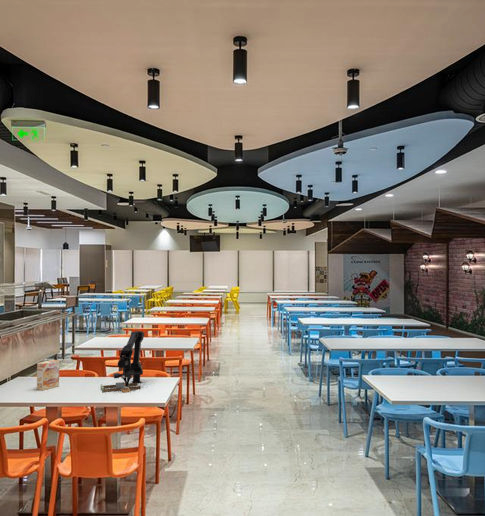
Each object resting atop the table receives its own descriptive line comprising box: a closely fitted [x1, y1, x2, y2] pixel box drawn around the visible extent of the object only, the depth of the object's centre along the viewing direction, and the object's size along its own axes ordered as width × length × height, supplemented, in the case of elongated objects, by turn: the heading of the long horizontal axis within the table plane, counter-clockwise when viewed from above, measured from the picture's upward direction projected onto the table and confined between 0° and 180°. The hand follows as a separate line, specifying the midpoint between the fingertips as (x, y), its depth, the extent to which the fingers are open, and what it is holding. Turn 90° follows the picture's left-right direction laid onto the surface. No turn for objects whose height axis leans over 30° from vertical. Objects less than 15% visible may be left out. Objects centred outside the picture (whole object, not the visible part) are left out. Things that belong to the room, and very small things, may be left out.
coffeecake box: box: [36, 359, 60, 391], centre depth 358 cm, size 15×7×20 cm, turn 153°
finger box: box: [100, 382, 141, 394], centre depth 356 cm, size 13×27×3 cm, turn 112°
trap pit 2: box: [121, 387, 131, 393], centre depth 349 cm, size 5×5×2 cm
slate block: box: [115, 381, 125, 391], centre depth 356 cm, size 6×6×4 cm
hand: (126, 386), depth 357 cm, fingers closed
